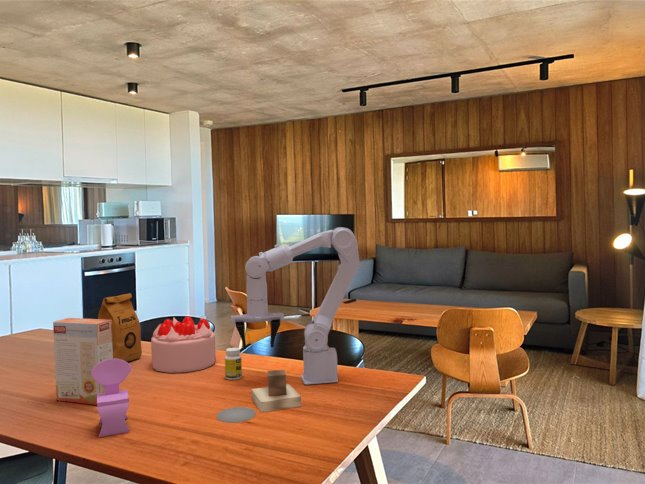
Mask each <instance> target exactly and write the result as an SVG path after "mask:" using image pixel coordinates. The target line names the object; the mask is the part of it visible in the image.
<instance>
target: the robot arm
mask: <svg viewBox="0 0 645 484" xmlns="http://www.w3.org/2000/svg"><path fill="white" fill-rule="evenodd" d="M358 244H359V242H358V240H357V237H355V234H354V232H353V231H352V230H351V229H350V228H348V227H342V226H340V227H339V226H338V227H335V228H333V229H329V230H326V231H322V232H321V231H320V232H318V233H316V234H314V235H312V236H310V237H307V238H305V239H303V240H301V241H299V242H296V243H294V244H291V245H290V246H288V245H287V244H281V245H280V244H279V243H277V244H275V245H274V248H271V249H269V250H267V251H264V252H263V251H261V252H258V255H254V256H251V257H250V258H249V259H248V260H247V261H246V263H245V268H244V269H245V272H246V285H245V286H246V312H247V313H245V314H235V315H231V317H230V320H231V325H233V324H234V325H235V328H236V330H237V332H238V334H239V336H240V337H239V338H240V339H241V342H242V348H243V350H246V349H247V345H246V326H245V324H246V323H260V322H261V323H262V322H269V323H270V324H269V325H270V341H269V342H270V347H271V348H274V347H275V342H276V341H275V340H276V337H277V333H278V330H279V328H280V326H281V322H284V321H285V317H284V316H285V315H284V312H269V311H268V310H269V308H268V307H269V306H268V283H267V272H274V271H276V270H278V269H280V268H283V267H285V266H287V265H290V264H291V263H292V262H293V259H294V258H295V257H297V256H299V255H302V254H304V253H308V252H309V251H313V250H314V249H315V250H316V249H317V248H320V247H321V248H329V249H330V248H332V247H333V249H334V250H335V251H336V252H337V255H338V258H339V260H340V262H341V263H340V266H339V267H338V269H337V272H336V274H335V275H334V277H333V280H332V282H331V284H330V286H329V288H328V290H327V292H326V294H325V296H324V298H323V300H322V302H321V304H320V307H319V309H318V311H317V313H316V314H315V315H314V317H313V319H312V321H310V323H308V324H307V325H306V326H305V327H304V329H303V336H304V343H305V344H304V346H303V347H302V358H303V360H302V361H303V364H302V365H303V374H300V378H301V380H302V382H303V384H304V385H317V384H328V383H329V384H330V383H331V384H332V383H338V382H339V379H338V355H337V354H338V353H337V349H336V348H335V347H329V345H328V341H329V340H328V339H329V338H328V336H329V333H330V331H331V327H332V323H333V322H334V321H333V320H334V318H335V316H336V314H337V312H338V310H339V307H340V306H341V304H342V301H343V299H344V297H345V296H346V294H347V291H348V289H349V287H350V286H351V283H352V281H353V279H354V278H355V275H356V273H357V270H359V267H360V264H361V263H360V255H359V247H358V246H359V245H358Z"/></svg>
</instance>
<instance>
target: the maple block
mask: <svg viewBox="0 0 645 484" xmlns="http://www.w3.org/2000/svg"><path fill="white" fill-rule="evenodd" d="M286 390H287V395H278V396H269V394H268V386H267V387H266V386H265V387H258V388H251V400H252V401H253V403H254V404H255V406H256V408H257V409H258V411H259V412H260V413H266V412H272V411H273V412H274V411H279V410H286V409H293V408H298V407H299V408H300V407H302V396H301V395H300V394H299V393H298V391H296V390H295V388H293V386H292V385H291V384H289V383H286Z"/></svg>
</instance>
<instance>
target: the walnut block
mask: <svg viewBox="0 0 645 484" xmlns="http://www.w3.org/2000/svg"><path fill="white" fill-rule="evenodd" d="M266 375H267V387H268V394H269V396H278V395H287V390H286V384H287V373H286V370H285V369H277V370H276V369H275V370H274V369H273V370H267V374H266Z"/></svg>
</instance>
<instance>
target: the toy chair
mask: <svg viewBox="0 0 645 484" xmlns="http://www.w3.org/2000/svg"><path fill="white" fill-rule="evenodd" d="M131 371H132V366H131V364H130V363H129V361H128V362H126V361H124V360H120V359H107V360H104V361H102V362H100V363H98V364H97V365H96V366H94V367H93V369H92V371H91V375H92V377H93V378H94V379H95V380H96V381H97V382H98V383H99V384H102V385H104V386H105V393H100V394H97V405H96V408H97V413H98V415H99V416H100V419H99V421H98V424H99V425H100V424H101V429H100V432H99V435H98V438H102V437H108V436H114V435H119V434H125V433H130V428H129V426H128V425H127V421H126V420H128V419H129V417H128V416H127V413H128V412H127V411H129V410H128V409H129V407H130V401H129V393H128V392H129V391H128V389H122V390H120V384H121V383H123V382H124V381H126V379H127V378H128V377H129V375H130V373H131ZM125 419H126V420H125Z"/></svg>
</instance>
